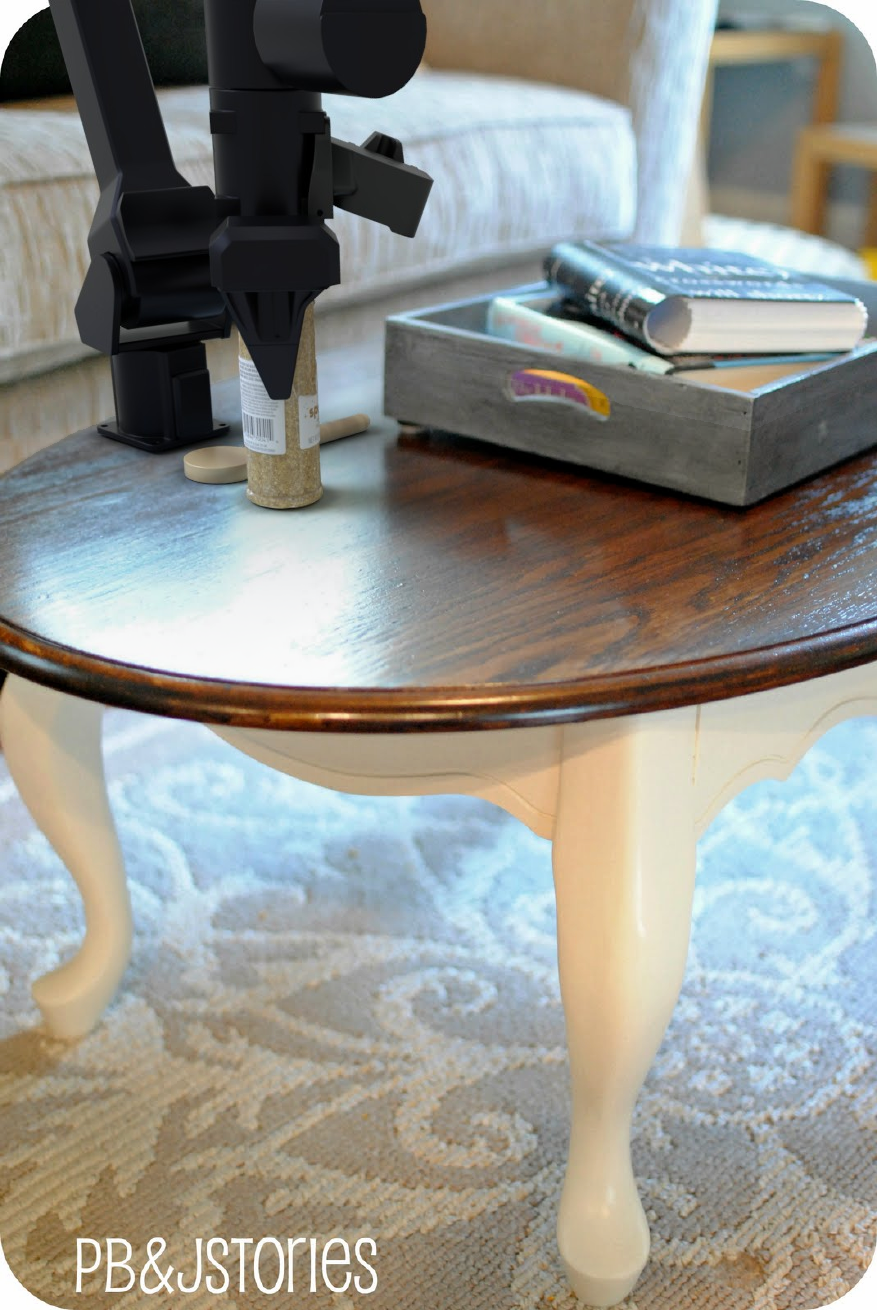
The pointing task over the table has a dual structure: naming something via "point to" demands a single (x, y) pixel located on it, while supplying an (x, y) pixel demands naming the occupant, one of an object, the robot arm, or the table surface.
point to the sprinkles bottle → (283, 430)
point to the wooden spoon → (231, 461)
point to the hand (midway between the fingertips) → (279, 387)
